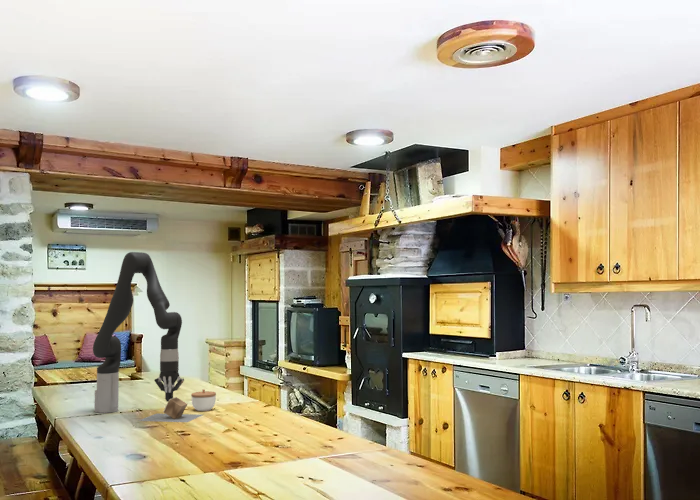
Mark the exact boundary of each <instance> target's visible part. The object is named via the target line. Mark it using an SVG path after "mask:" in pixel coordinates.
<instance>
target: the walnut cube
mask: <svg viewBox="0 0 700 500" xmlns="http://www.w3.org/2000/svg"><path fill="white" fill-rule="evenodd" d="M187 407H188V403H187V402H185V401H184V400H182V399H180V398H178V397H177V396H175V397H174V396H173V398H172V399H169V401H168V402H167V404H166V405H165V407H164V409H163V411H162V413H163V414H167V415H169V416H170V417H172V418H174V419H177V418H179V417H181V416H182V414H184V412H185V410H186V408H187Z"/></svg>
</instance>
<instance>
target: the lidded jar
mask: <svg viewBox="0 0 700 500" xmlns="http://www.w3.org/2000/svg"><path fill="white" fill-rule="evenodd" d="M190 395H191V405H192V407H193V408H194V409H195V410H196V411H197V412H208V411H211V410H212V409H213V408H214V407H215V404H216V396H217V393H216V392H215V391H211V390H210V391H206V389H205V388H203V389H202V391H196V392H192V393H191V394H190Z"/></svg>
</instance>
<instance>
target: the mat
mask: <svg viewBox="0 0 700 500" xmlns="http://www.w3.org/2000/svg"><path fill="white" fill-rule="evenodd" d="M202 416H203V414H197V413H196V414H191V413H190V414H189V413H183V414H182V416H181V417H179V418H177V419H174V418H172V417H170V416H169V415H167V414H165V413H154V414H152V415H149V416H146V417H144V418H141V419H138V420H137V422H159V423H160V422H161V423H163V422H164V423H165V422H166V423H172V422H173V423H189V422H191V421H193V420H196V419H198V418H200V417H202Z"/></svg>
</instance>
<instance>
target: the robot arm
mask: <svg viewBox="0 0 700 500" xmlns="http://www.w3.org/2000/svg"><path fill="white" fill-rule="evenodd" d="M135 274H142V276H143V278H144V279H145V280H146V296H147V299H148V301H149V303H150V305H151V307H152V309H153V314H154V317H155V322H156V325H157V326H158V327H159V328H160V329H162V330H167V333H166V334H164V335H162V336H161V337H160V352H159V353H160V355H159V370H160V371H159V375H158V377H157V378H154V382H155V384H156V386H157V387H158V388H159V389H160V391H161V392H164V394H165V395H164V397H165V398H164V399H165V401H166V402H167V403H168V401H169V399H172V398H174V392H176V391H178V390H179V388H180V387H181V386H182V385H183V383H184V382H185V379H184V378H182V377H181V376H180V373H179V360H180V359H179V336H180V332H181V329H182V324H183V320H182V316H181V314H180V313H178V311H177V312H175V311H171V312H168V311H167V310H168V309H169V308H170V302H169V299H168V297H167V296H166V294H165V291H164V290H163V288H162V286H161V284H160V282H159V281H160V280H159V277H158V274H157V272H156V269H155V265H154V263H153V260H152V258H151V256H150V255H149V253H146V252H140V251H139V252H138V251H130V252H128V253H126V254H125V256H124V258H123V260H122V261H121V266H120V271H119V275H118V279H117V283H116V286H115V289H114V292H113V295H112V297H111V298H110V299H111V300H110V303H109V306H108V308H107V311H106V314H105V317H104V320H103V322H102V325H101V327H100V329H99V331H98V333H97V335H96V336H95V339H94V341H93V346H92V353H93V355H94V356H95V358H98V359H104V361H103V362H102V363H101V364H100V365H98V366H97V368H96V389H95V390H94V412H95V413H99V414H104V413H105V414H106V413H107V414H109V413H115V412H118V411H119V397H120V396H119V391H120V390H119V385H120V383H119V382H120V381H119V379H120V378H119V377H120V376H119V374H120V373H119V372H120V371H119V370H120V366H121V362H122V361H121V360H122V359H121V358H122V343H121V340H120V338H119V337H117V336H114V333H115V332H116V330H117V329H118V328H119V327H120V326H121V325H122V324H123V322H124V321H126V319H127V318H128V316H129V315H130V314H131V310H132V306H133V305H134V295H133V291H132V282H133V279H134V276H135Z"/></svg>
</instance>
